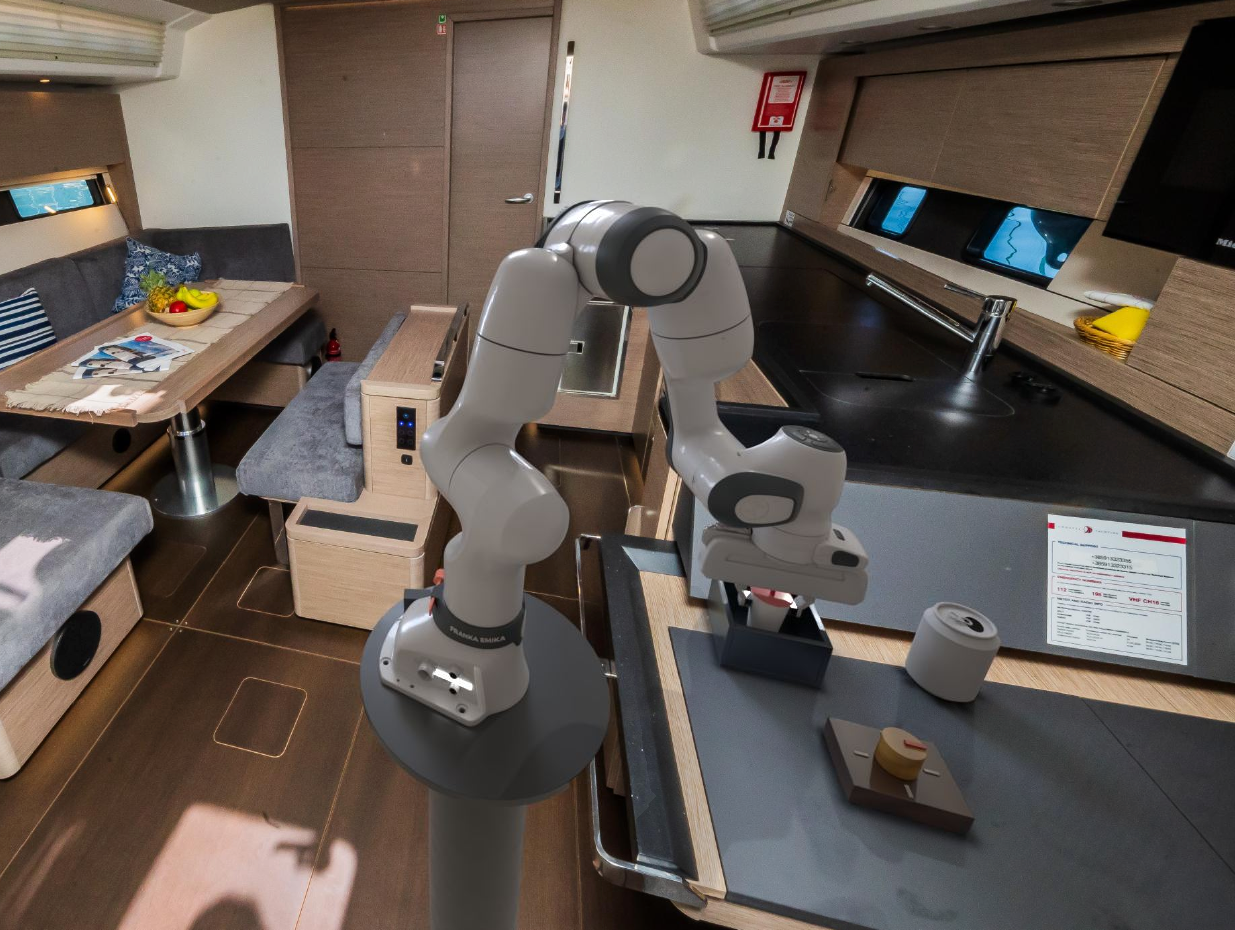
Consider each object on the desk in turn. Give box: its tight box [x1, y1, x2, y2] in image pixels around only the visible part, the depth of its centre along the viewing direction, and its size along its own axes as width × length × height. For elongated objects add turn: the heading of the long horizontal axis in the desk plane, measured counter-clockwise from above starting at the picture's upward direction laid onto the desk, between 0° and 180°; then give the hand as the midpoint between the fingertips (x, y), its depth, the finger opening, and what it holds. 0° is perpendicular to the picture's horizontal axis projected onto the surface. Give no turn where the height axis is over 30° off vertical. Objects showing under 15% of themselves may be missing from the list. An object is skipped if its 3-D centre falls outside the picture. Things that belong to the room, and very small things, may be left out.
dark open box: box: [706, 579, 835, 690], centre depth 87 cm, size 13×13×8 cm
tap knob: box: [874, 726, 927, 780], centre depth 68 cm, size 4×4×4 cm
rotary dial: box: [822, 716, 976, 836], centre depth 69 cm, size 11×9×3 cm
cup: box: [747, 586, 793, 632], centre depth 87 cm, size 5×5×12 cm
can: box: [904, 601, 1002, 703], centre depth 79 cm, size 8×8×12 cm
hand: (767, 608), depth 86 cm, fingers closed on cup, 5 cm apart
